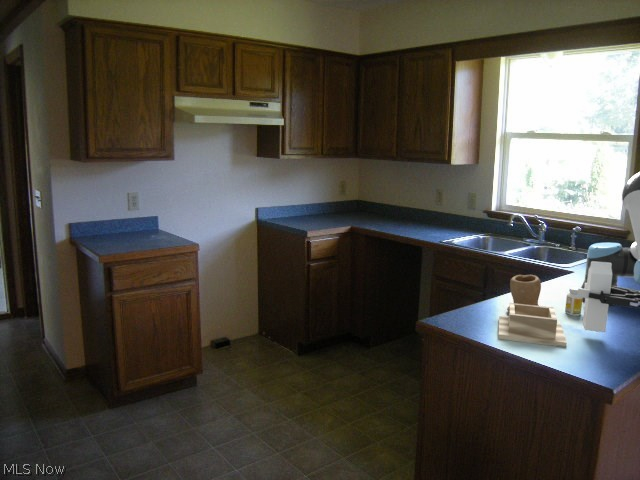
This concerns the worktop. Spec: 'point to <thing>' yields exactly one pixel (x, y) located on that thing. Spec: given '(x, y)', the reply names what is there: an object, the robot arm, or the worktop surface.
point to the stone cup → (525, 289)
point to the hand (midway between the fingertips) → (581, 289)
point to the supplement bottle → (573, 302)
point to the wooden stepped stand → (532, 325)
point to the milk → (594, 308)
